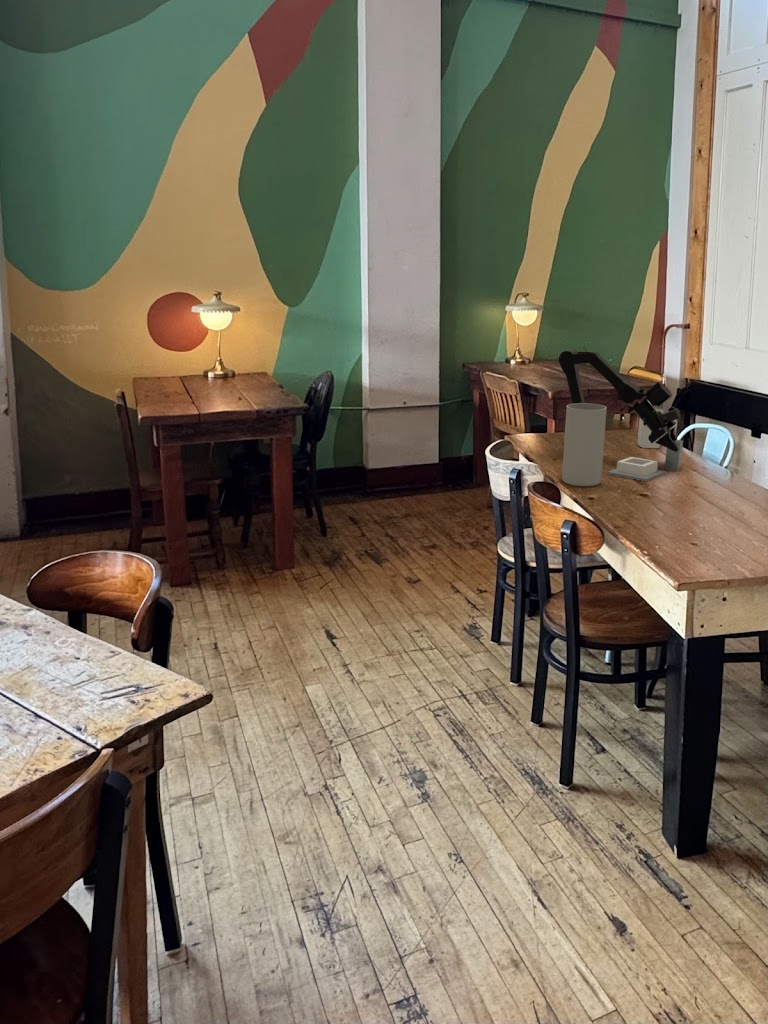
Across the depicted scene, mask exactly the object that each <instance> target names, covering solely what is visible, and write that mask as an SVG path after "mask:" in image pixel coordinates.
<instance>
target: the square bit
mask: <svg viewBox="0 0 768 1024" xmlns="http://www.w3.org/2000/svg"><path fill="white" fill-rule="evenodd" d="M672 440H673V439H672ZM673 442H674V444H675V445H676V447H677V449H678V451H677V452H674V451H672V450H670V449H668V448H666V452H665V462H664V463H665V464H664V471H670V470H673V471H672V472H679V471H680V470H681V465H682V464H681V463H682V454H683V444H684V439H683V440H681V439H677V440H673Z"/></svg>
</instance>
